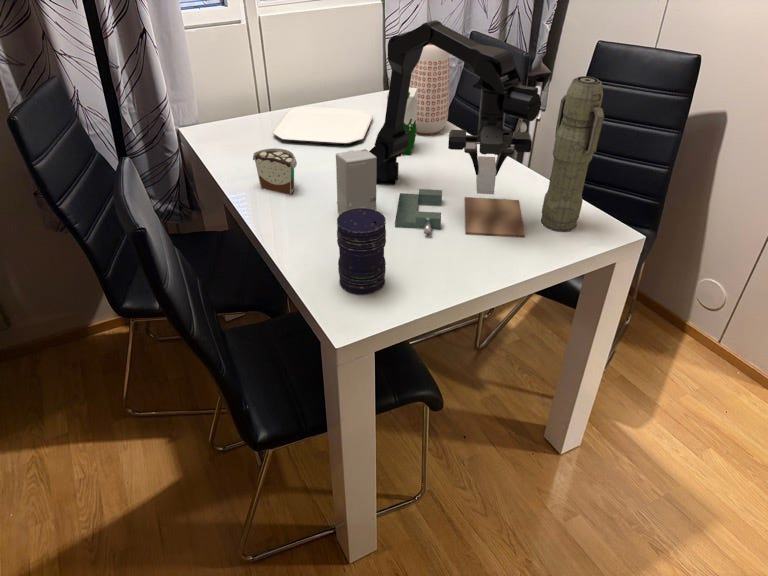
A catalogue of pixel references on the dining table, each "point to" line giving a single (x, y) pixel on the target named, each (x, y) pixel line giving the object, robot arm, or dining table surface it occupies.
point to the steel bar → (486, 175)
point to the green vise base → (417, 219)
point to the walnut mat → (493, 217)
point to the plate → (324, 125)
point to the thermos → (573, 152)
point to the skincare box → (356, 180)
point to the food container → (276, 170)
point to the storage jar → (361, 250)
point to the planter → (431, 89)
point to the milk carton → (410, 119)
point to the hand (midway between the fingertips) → (486, 175)
